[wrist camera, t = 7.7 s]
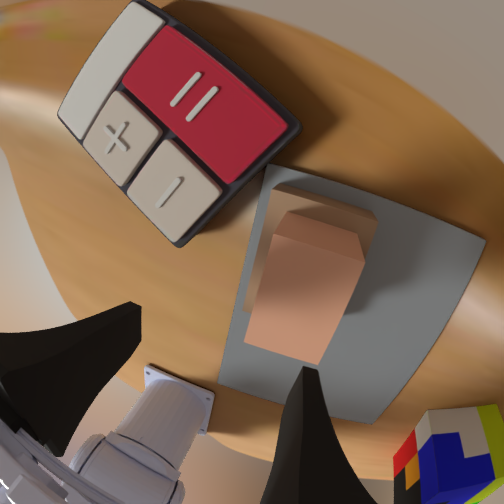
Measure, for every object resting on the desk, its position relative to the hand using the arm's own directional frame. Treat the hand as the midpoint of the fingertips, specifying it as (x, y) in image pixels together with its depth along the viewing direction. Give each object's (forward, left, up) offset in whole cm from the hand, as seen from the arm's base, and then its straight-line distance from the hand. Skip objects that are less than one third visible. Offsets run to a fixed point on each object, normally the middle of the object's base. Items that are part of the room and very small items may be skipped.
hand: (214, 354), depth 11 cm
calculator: (+9, +9, -10) cm, 16 cm away
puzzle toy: (-14, -26, -10) cm, 31 cm away
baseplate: (-3, -7, -10) cm, 12 cm away
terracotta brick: (+2, -3, -7) cm, 8 cm away
